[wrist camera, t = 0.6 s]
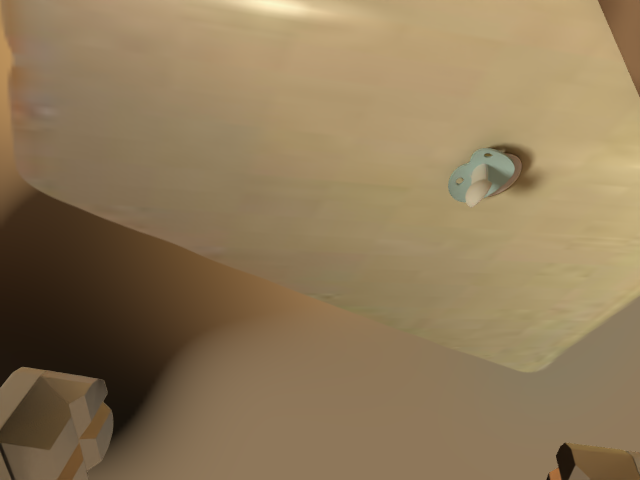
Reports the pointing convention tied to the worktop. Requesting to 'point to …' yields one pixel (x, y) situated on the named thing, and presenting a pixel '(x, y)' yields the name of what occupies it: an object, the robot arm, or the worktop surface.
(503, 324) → the worktop surface
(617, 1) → the gear board
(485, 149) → the pacifier
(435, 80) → the worktop surface
